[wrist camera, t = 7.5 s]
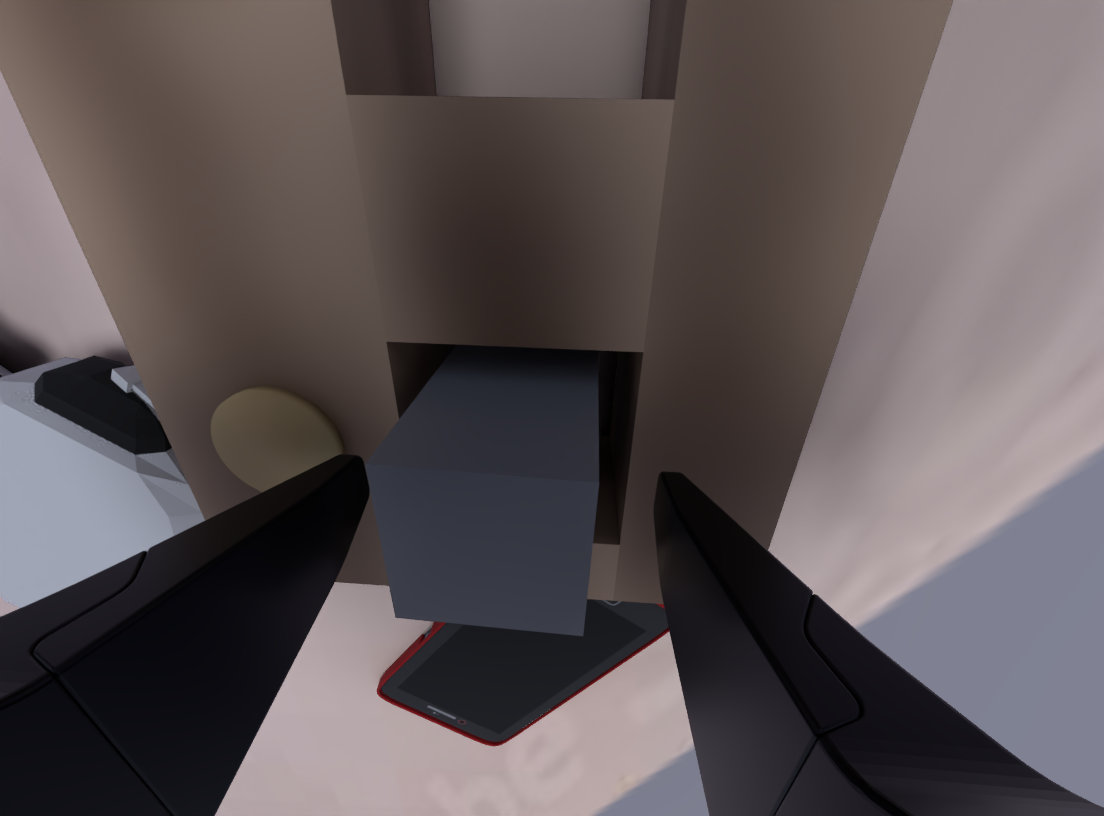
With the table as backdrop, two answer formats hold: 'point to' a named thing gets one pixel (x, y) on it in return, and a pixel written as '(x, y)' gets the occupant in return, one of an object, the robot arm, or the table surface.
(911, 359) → the table surface
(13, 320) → the table surface
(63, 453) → the robot toy
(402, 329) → the socket box
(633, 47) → the table surface
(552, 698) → the cell phone
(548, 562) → the plug
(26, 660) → the robot arm
